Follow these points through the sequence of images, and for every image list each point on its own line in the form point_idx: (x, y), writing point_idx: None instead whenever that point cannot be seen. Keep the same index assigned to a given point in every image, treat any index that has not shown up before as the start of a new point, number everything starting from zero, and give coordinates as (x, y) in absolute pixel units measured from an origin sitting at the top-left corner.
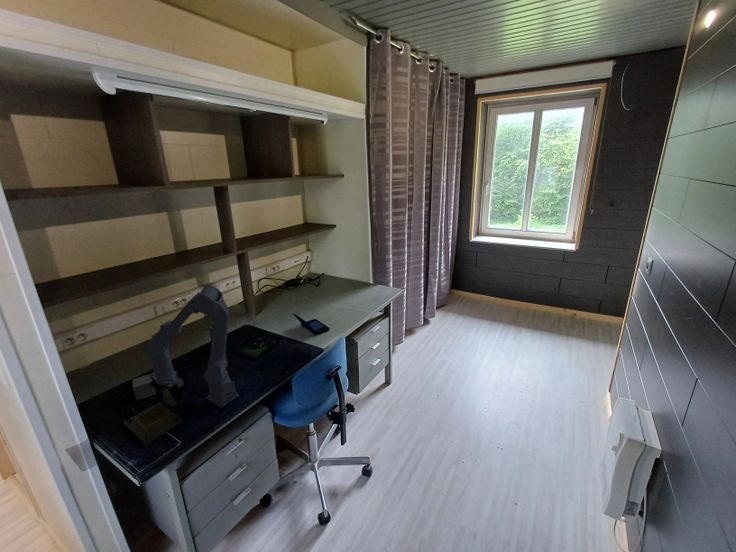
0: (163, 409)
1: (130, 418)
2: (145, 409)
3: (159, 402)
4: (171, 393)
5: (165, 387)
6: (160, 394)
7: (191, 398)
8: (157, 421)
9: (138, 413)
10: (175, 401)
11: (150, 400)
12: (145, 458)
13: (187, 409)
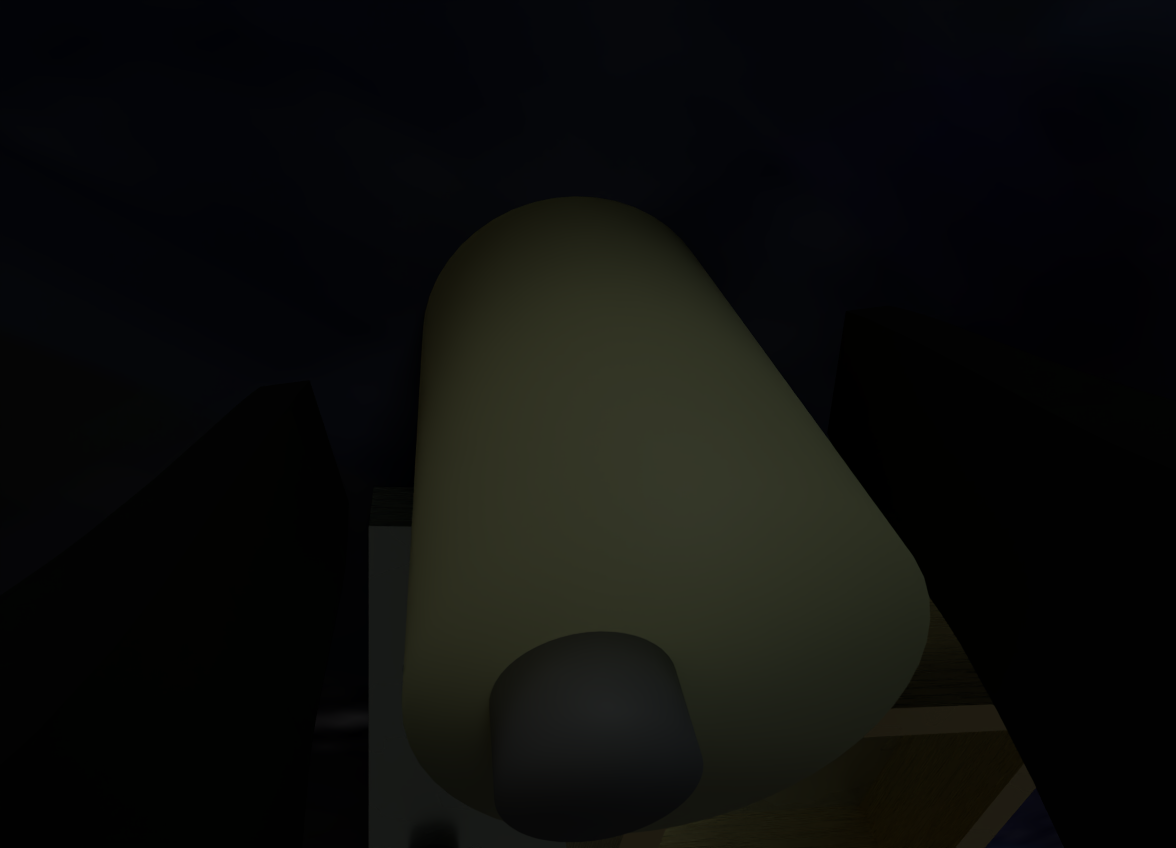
0: (886, 733)
1: (380, 843)
2: (370, 713)
3: (399, 534)
4: (1037, 759)
5: (614, 804)
6: (331, 593)
7: (927, 19)
8: (983, 833)
9: (370, 779)
10: (845, 454)
11: (53, 523)
12: (1023, 839)
13: (1057, 321)
